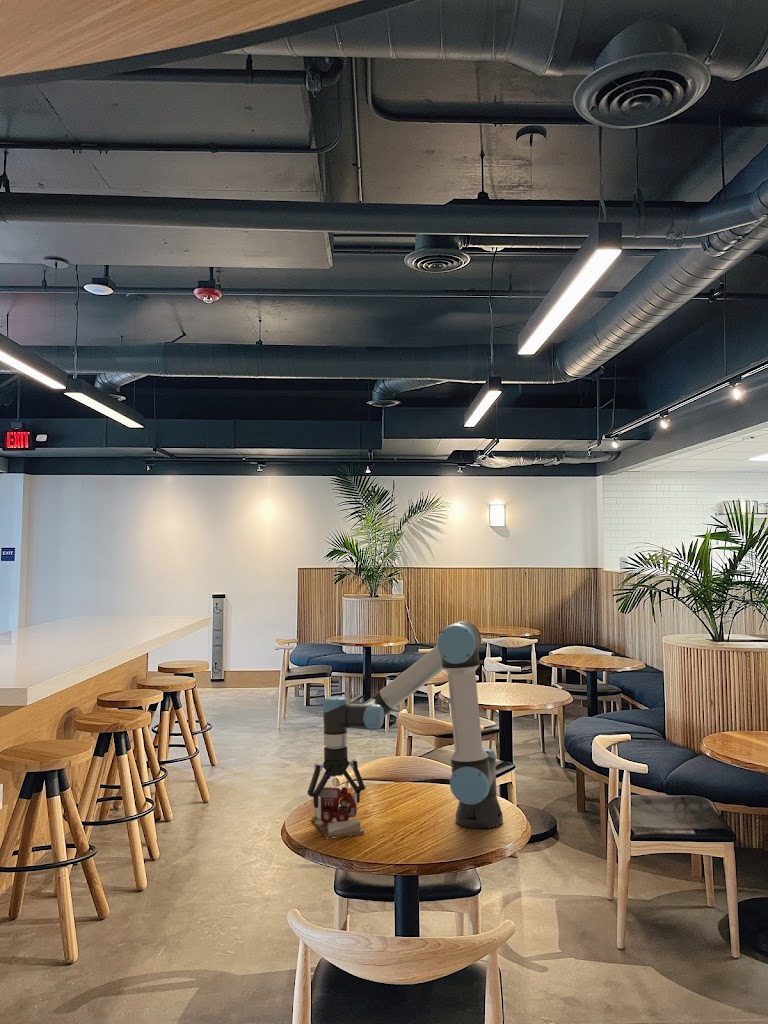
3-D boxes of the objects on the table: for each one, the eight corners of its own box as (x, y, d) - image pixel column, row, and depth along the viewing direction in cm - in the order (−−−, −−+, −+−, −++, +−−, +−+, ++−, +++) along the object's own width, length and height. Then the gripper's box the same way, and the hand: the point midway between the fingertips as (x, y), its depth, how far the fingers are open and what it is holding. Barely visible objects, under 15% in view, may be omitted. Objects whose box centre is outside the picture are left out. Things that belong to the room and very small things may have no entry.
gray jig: (364, 834, 238) (363, 821, 238) (326, 839, 234) (326, 826, 234) (346, 815, 256) (346, 802, 257) (311, 819, 253) (311, 807, 253)
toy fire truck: (353, 824, 241) (352, 791, 242) (315, 823, 243) (314, 790, 244) (358, 817, 248) (357, 784, 248) (321, 816, 250) (320, 784, 251)
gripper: (367, 740, 254) (368, 807, 253) (297, 747, 247) (298, 816, 245) (374, 744, 247) (375, 814, 246) (302, 752, 240) (303, 823, 238)
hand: (337, 815), depth 245 cm, fingers closed on toy fire truck, 11 cm apart
